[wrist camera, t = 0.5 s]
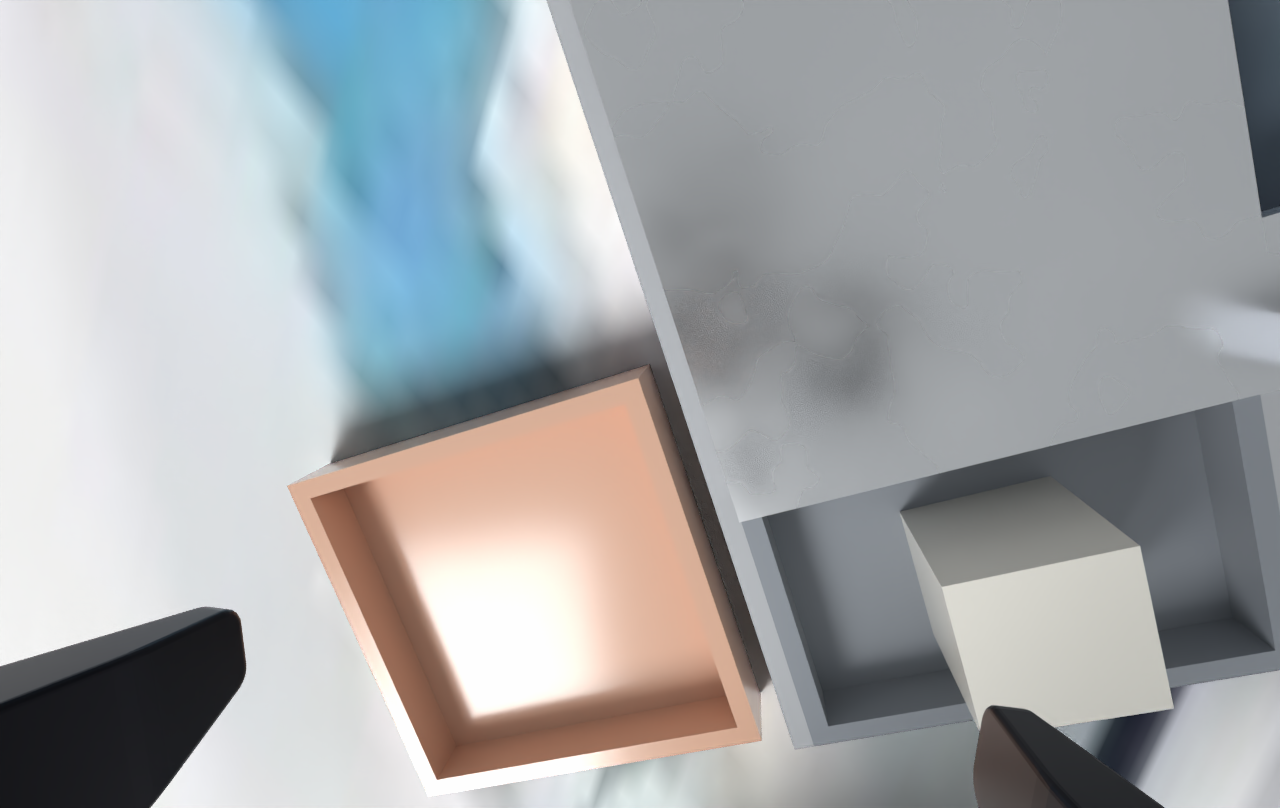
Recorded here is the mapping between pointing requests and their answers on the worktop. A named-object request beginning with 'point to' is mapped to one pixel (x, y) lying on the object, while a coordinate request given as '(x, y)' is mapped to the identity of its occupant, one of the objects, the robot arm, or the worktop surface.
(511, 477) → the bin
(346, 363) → the worktop surface
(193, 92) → the worktop surface
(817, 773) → the worktop surface
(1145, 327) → the lid
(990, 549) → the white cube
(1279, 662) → the bin
